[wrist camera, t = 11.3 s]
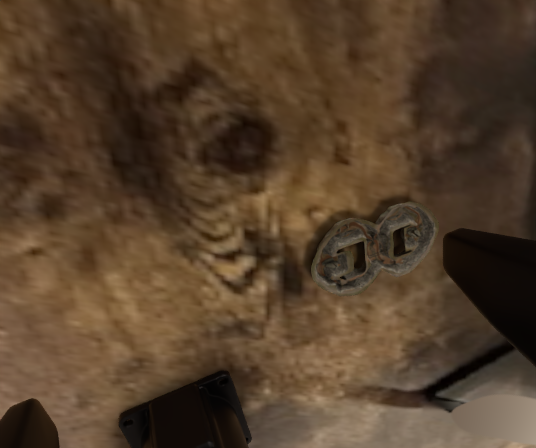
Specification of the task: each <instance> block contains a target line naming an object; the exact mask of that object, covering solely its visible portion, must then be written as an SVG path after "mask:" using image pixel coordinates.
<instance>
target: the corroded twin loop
mask: <svg viewBox="0 0 536 448" xmlns="http://www.w3.org/2000/svg"><path fill="white" fill-rule="evenodd" d="M399 228H401V239H402V240H403V242H404V243H405V250H404V251H403V252H401V253H399V254H395V255H394V253H393V250H394V242H393V232H394V231H395V230H397V229H399ZM438 230H439V222H438V221H437V219H436V218H435V216H434V215H433V213H432V212H431V210H430V209H428V208H426V207H425V206H423V205H421V204H419V203H414V202H412V201H409V202H407V203H404V204H397V205H394V206H390V207H389V208H388V209H387V210H386V211H385V212H384V213H383V214H381V215H380V216H379V218H378V219H377V221H376V222H375V224H374V223H373V222H371V221H367V220H362V219H357V218H348V219H345V220H342V221H339V222H337V223H336V224H335V225H334V226H333V227H332V228H331V230H330V231H328V232H327V234H326V235H325V236H324V238H323V239H322V241H321V242H320V244H319V245H318V247H317V252H316V256H315V258H314V259H313V263H312V266H311V273H312V278H313V280H314V281H315V282H316V283H317V285H318V286H320V287H321V288H322V289H324V290H326V291H329V292H331V293H333V294H336V295H338V296H352V295H358V294H360V293H362V292H363V291H365V290H366V289H367V288H368V287H369V285H370V284H371V283H373V281H374V280H375V278H376V277H377V275H378V273H379V272H380V271H385V272H387V273H389V274H391V275H392V276H395V277H399V276H402V275H404V274H407V273H410V272H411V271H412V270H413V269H414V268H415V267H416V266H417V265H418V264H419V263H420V262H421V261H422V260H423V259H424V258H425V257H426V255H427V254H428V253H429V251H430V250H431V247H432V245H433V243H434V241H435V238H436V236H437V233H438ZM361 241H364V250H365V259H366V261H365V262H364V263H363V264H362V266H361V267H360V268H358V269H354V258H353V255H352V253H351V251H345V252H339V251H337V250H339V249H341V248H344V247H347V246H350V245H352V244H355V243H358V242H361ZM341 276H342V278H340V277H341Z"/></svg>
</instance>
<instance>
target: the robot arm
mask: <svg viewBox="0 0 536 448" xmlns="http://www.w3.org/2000/svg"><path fill="white" fill-rule="evenodd" d="M443 266H444V269H445V271H446V273H447V274H448V275H449V276H450V278H451V279H452V280H453V281H454V282H455V283H456V285H457V286H458V287H459V288H460V289H461V290H462V292H463V293H464V294H465V295H466V296H467V297H468V299H469V300H470V301H471V302H472V303H473V304H474V306H475V307H476V308H477V309H478V310H479V311H480V313H481V314H482V315H483V316H484V317H485V318H486V319H487V320H488V322H489V323H490V324H491V325H492V326H493V327H494V328H495V329H496V330H497V331H498V332H499V333H500V334H502V335H503V336H504V337H505V338H506V339H507V340H508V341H509V342H510V343H511V344H512V345H513V346H514V347H515V348H516V349H517V350H518V351H519V352H520V353H521V354H522V355H523V356H525V357H526V358H527V359H528V360H529V361H530V362H531V363H532V364H533V365H534V366H535V367H536V241H534V240H528V239H522V238H516V237H511V236H505V235H499V234H493V233H487V232H481V231H476V230H470V229H464V228H460V229H457V230H454V231H452V232H449V233H447V234H446V235H445V236H444V238H443ZM222 379H224V380H222ZM220 380H222V381H220ZM118 419H119V427H120V429H121V430H122V432H123V434H124V436H125V437H126V439H127V441H128V443H129V444H130V446H131V448H249V447H248V445H247V444H249V443H250V442H251V440H252V437H251V434H250V431H249V428H248V425H247V422H246V419H245V416H244V414H243V411H242V408H241V405H240V402H239V399H238V396H237V393H236V390H235V387H234V384H233V381H232V378H231V376H230V373H229V372H228V371H219V372H217V373H215V374H212V375H210V376H207V377H205V378H203V379H200V380H198V381H196V382H193V383H191V384H188V385H186V386H184V387H181V388H179V389H177V390H174V391H172V392H169V393H167V394H165V395H162V396H160V397H158V398H155V399H153V400H151V401H148V402H146V403H143V404H141V405H139V406H136V407H134V408H132V409H129V410H127V411H125V412H123V413H121V414H120V416H119V418H118ZM128 419H130V420H128ZM126 420H128V421H126ZM0 448H59V437H58V432H57V428H56V426H55V424H54V423H53V421H52V420H51V418H50V417H49V415H48V414H47V412H46V411H45V410H44V408H43V407H42V405H41V404H40V402H39V401H38V400H36V399H33V398H31V399H28V400H26V401H23V402H21V403H18V404H16V405H13V406H12V407H10V408H9V409H8V411H7V412H6V413H5V415H4V416H3V417H2V419H1V420H0Z"/></svg>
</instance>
